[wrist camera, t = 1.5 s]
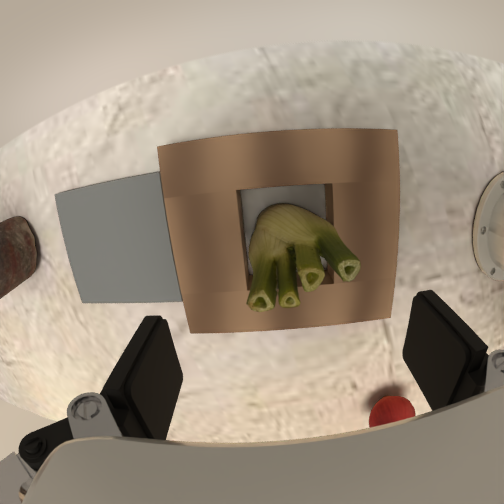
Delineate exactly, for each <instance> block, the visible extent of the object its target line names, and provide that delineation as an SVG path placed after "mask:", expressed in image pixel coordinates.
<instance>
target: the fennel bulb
mask: <svg viewBox="0 0 504 504" xmlns="http://www.w3.org/2000/svg"><path fill="white" fill-rule="evenodd" d="M248 255H249V260H250V263H251V265H252V268H253V280H252V284H251V288H250V292H249V296H248V299H247V302H246V304H247V305H248V306H249V308H250V309H251V310H253V311H257V312H263V311H268V310H272V309H273V308H274V307H275V303H276V296H277V293H278V297H279V299H278V301H279V305H280V306H281V307H283V308H293V307H298V306H299V305H300V303H301V302H300V300H299V293H298V287H297V286H298V285H297V276H296V275H297V274H296V268H297V271H298V275H299V276H300V280H301V282H302V286H303V289H304V291H305V292H311V291H314V290H316V289H317V288H318V286H319V285H320V284H321V282H322V281H323V279H324V277H325V272H324V269H323V265H322V263H321V259H320V256H321V257H324V258H325V260H326V261H327V262H328V263H329V265H330V266H331V268H332V269H333V270H334V271H335V272H336V273H337V274H338V275H339V276H340V278H341V279H342V280H343V282H344V281H348V282H350V281H352V280H354V279H355V277H356V275H358V273H359V271H360V269H361V262H360V260H359V259H358V257H357V256H356V255H354V254H353V253H352V252H351V251H350V249H349V248H348V247H347V246H346V245H345V244H344V243H343V241H342V240H341V238H340V237H339V235H338V233H337V231H336V229H335V227H334V226H333V225H331V223H329V222H327V221H326V220H325V219H323V218H321V217H319V216H317V215H316V214H314V213H312V212H310V211H308V210H306V209H303V208H301V207H298V206H295V205H291V204H284V203H281V204H275V205H271V206H269V207H267V208H266V209H265V210H263V211H262V212H261V213H260V214H259V216H258V218H257V222H256V228H255V231H254V232H253V234H252V237H251V240H250V245H249V252H248ZM277 290H278V292H277Z"/></svg>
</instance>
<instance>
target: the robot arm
mask: <svg viewBox="0 0 504 504" xmlns="http://www.w3.org/2000/svg"><path fill="white" fill-rule="evenodd" d="M473 247H474V254H475V258H476V261H477V263H478V265H479V268H480V269H481V270H482V271H483V273H484V274H486V275H487V276H488V277H490V278H491V279H494V280H497V281H503V280H504V172H502V173H501V174H499V175H497V176H496V177H495V178H494V179H493V180H492V181H491V182H490V184H489V185H488V186H487V188H486V189H485V191H484V193H483V195H482V197H481V200H480V202H479V205H478V208H477V212H476V216H475V221H474V229H473ZM487 349H488V346H487V345H486V344H485V343H484V342H483V341H482V340H481V339H480V338H479V337H478V335H477V334H476V333H475V332H474V331H473V330H472V329H471V328H470V327H469V326H468V325H467V324H466V323H465V322H464V321H463V320H462V319H461V318H460V317H459V316H458V315H457V314H456V313H455V312H454V311H453V310H452V309H451V308H450V307H449V306H448V305H447V304H446V303H445V302H444V301H443V300H442V299H441V298H440V297H439V296H438V295H437V294H436V293H435V292H434V291H432V290H427V291H421V292H418V293H417V295H416V296H415V297H414V298H413V301H412V307H411V313H410V319H409V324H408V329H407V334H406V338H405V343H404V347H403V359H404V361H405V363H406V364H407V366H408V368H409V370H410V371H411V373H412V375H413V377H414V378H415V380H416V382H417V384H418V385H419V387H420V389H421V391H422V392H423V394H424V396H425V398H426V400H427V402H428V403H429V405H430V407H431V409H432V411H431V412H427V413H424V414H421V415H418V416H414V417H411V418H407V419H404V420H400V421H396V422H392V423H388V424H384V425H380V426H375V427H371V428H366V429H362V430H357V431H351V432H346V433H340V434H334V435H327V436H320V437H313V438H304V439H295V440H284V441H270V442H249V443H207V442H184V441H169V440H166V437H167V433H168V430H169V426H170V423H171V419H172V416H173V412H174V409H175V406H176V402H177V399H178V395H179V392H180V389H181V385H182V382H183V373H182V370H181V367H180V363H179V360H178V357H177V354H176V350H175V347H174V343H173V340H172V337H171V333H170V329H169V326H168V322H167V320H166V319H163V318H162V317H161V316H145V318H144V319H143V321H142V322H141V324H140V326H139V327H138V329H137V331H136V332H135V334H134V335H133V337H132V339H131V340H130V342H129V344H128V345H127V347H126V349H125V350H124V352H123V354H122V355H121V357H120V359H119V361H118V362H117V364H116V366H115V367H114V369H113V371H112V373H111V374H110V376H109V378H108V380H107V381H106V383H105V385H104V387H103V389H102V391H101V393H100V394H98V393H94V392H91V393H84V394H81V395H79V396H77V397H76V398H74V399H73V400H72V401H71V402H70V404H69V405H68V408H67V416H68V417H67V418H65V419H63V420H60V421H58V422H56V423H53V424H51V425H49V426H46V427H44V428H41V429H39V430H36V431H34V432H31V433H29V434H28V435H26V436H25V437H24V438H23V439H22V441H21V442H20V445H19V453H18V454H16V453H15V452H13V453H11V454H10V455H9V456H7V457H6V458H4V459H3V460H2V461H0V504H504V350H495V351H493V352H491V354H490V355H488V354H487V353H486V352H487Z"/></svg>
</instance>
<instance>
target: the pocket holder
mask: <svg viewBox="0 0 504 504" xmlns="http://www.w3.org/2000/svg"><path fill="white" fill-rule="evenodd" d="M157 149H158V158H159V166H160V174H161V181H162V188H163V195H164V202H165V208H166V215H167V221H168V227H169V233H170V238H171V244H172V249H173V255H174V260H175V265H176V270H177V275H178V280H179V285H180V289H181V294H182V299H183V303H184V308H185V312H186V316H187V321H188V325H189V329H190V333H231V332H253V331H270V330H284V329H297V328H308V327H319V326H329V325H338V324H347V323H355V322H363V321H370V320H378V319H385V318H390V317H391V310H392V303H393V295H394V287H395V277H396V267H397V255H398V239H399V215H400V171H399V147H398V133H397V130H389V129H351V128H341V129H302V130H283V131H269V132H257V133H247V134H237V135H229V136H221V137H213V138H206V139H199V140H192V141H186V142H180V143H174V144H169V145H163V146H158V147H157ZM324 183H325V199H326V221H327V222H329V223H331V225H333V226H334V227H335V229H336V231H337V233H338V235H339V237H340V238H341V240H342V241H343V243H344V244H345V245H346V246H347V247H348V248H349V249H350V251H351V252H352V253H353V254H354V255H356V256H357V257H358V259H359V260H360V262H361V269H360V271H359V273H358V275H356V277H355V279H354V280H352V281H350V282H348V281H344V282H343V280H342V279H341V278H340V276H339V275H338V274H337V273H336V272H335V271H334V270H333V269H332V268H331V266H330V265H329V263H328V262H327V269H326V270H324V272H325V277H324V279H323V281H322V282H321V284H320V285H319V286H318V288H317V289H316V290H314V291H311V292H305V291H304V289H303V286H302V282H301V280H300V276H299V275H298V272H296V274H297V275H296V276H297V285H298V286H297V287H298V293H299V300H300V302H301V303H300V305H299V306H298V307H293V308H283V307H281V306H280V305H279V301H278V299H279V297H278V293H277V296H276V303H275V307H274V308H273V309H272V310H268V311H263V312H257V311H253V310H251V309H250V308H249V306H248V305H247V304H246V302H247V299H248V296H249V292H250V288H251V284H252V280H253V275H249V269H248V260H247V251H246V241H245V232H244V223H243V214H242V204H241V195H240V190H241V189H252V188H264V187H276V186H290V185H306V184H324ZM277 292H278V290H277Z"/></svg>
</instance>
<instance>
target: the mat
mask: <svg viewBox="0 0 504 504" xmlns="http://www.w3.org/2000/svg"><path fill="white" fill-rule="evenodd" d="M55 199H56V205H57V210H58V215H59V220H60V225H61V229H62V234H63V238H64V242H65V246H66V250H67V254H68V258H69V261H70V265H71V268H72V272H73V275H74V279H75V282H76V285H77V288H78V291H79V294H80V297H81V300H82V303H155V302H182V301H183V299H182V294H181V289H180V285H179V280H178V275H177V270H176V265H175V260H174V255H173V249H172V244H171V238H170V233H169V227H168V221H167V215H166V208H165V202H164V195H163V188H162V181H161V174H160V172H156V173H150V174H144V175H139V176H134V177H128V178H123V179H118V180H113V181H109V182H104V183H99V184H95V185H91V186H86V187H82V188H78V189H74V190H70V191H66V192H62V193H58V194H55Z"/></svg>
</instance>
